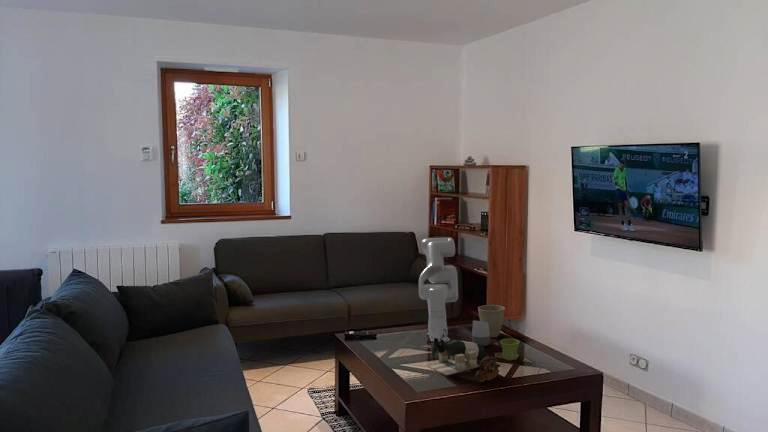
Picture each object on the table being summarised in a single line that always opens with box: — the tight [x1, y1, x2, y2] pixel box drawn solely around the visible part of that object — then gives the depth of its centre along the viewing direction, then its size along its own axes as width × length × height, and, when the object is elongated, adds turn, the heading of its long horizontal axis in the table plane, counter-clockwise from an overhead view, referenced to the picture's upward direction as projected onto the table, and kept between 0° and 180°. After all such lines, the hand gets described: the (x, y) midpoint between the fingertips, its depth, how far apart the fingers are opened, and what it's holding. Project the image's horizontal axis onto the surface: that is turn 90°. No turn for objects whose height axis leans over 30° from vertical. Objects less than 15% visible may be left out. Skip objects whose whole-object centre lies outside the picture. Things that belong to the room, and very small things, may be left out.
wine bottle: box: [430, 339, 486, 361], centre depth 281 cm, size 8×8×30 cm
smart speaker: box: [471, 320, 491, 348], centre depth 311 cm, size 10×9×14 cm
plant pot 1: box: [477, 304, 505, 338], centre depth 328 cm, size 15×15×16 cm
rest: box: [426, 351, 480, 376], centre depth 280 cm, size 16×20×8 cm
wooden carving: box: [474, 356, 501, 383], centre depth 260 cm, size 16×5×10 cm, turn 139°
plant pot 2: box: [499, 338, 520, 361], centre depth 287 cm, size 9×9×9 cm
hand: (439, 351), depth 276 cm, fingers closed on wine bottle, 3 cm apart
